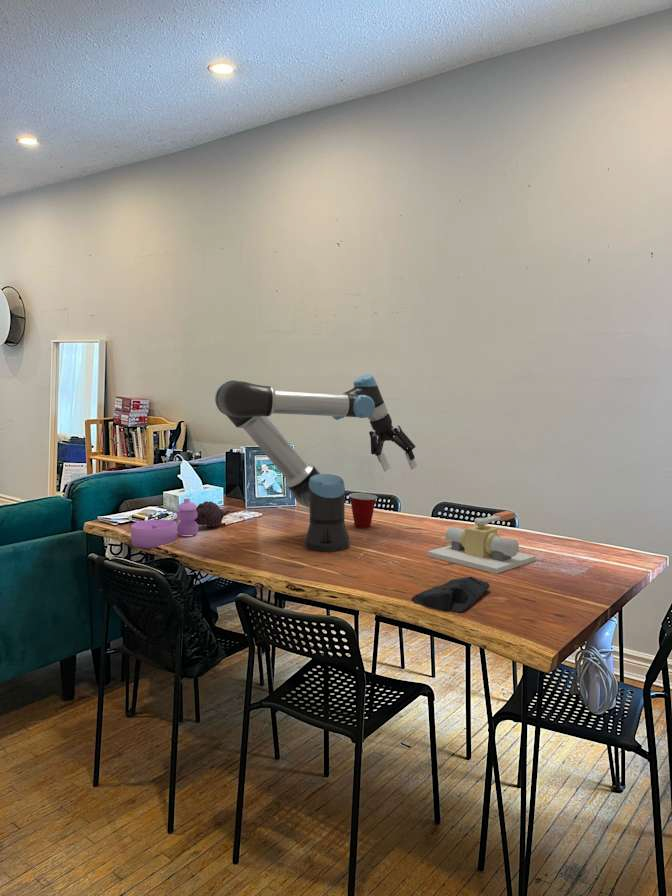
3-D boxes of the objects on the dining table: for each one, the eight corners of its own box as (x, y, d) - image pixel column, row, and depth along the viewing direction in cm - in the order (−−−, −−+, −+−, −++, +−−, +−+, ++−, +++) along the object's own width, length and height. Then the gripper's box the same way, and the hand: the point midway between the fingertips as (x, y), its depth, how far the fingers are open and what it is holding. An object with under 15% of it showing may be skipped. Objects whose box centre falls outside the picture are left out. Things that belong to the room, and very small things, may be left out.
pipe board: (496, 573, 200) (496, 536, 199) (427, 556, 219) (427, 522, 218) (535, 560, 213) (536, 526, 212) (467, 545, 233) (467, 513, 231)
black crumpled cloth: (499, 593, 184) (500, 576, 184) (459, 617, 167) (460, 597, 166) (448, 582, 194) (448, 566, 193) (405, 604, 176) (405, 585, 176)
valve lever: (482, 526, 212) (482, 520, 212) (471, 524, 215) (472, 518, 215) (515, 518, 224) (516, 512, 224) (505, 516, 227) (505, 510, 227)
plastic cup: (378, 529, 256) (378, 497, 255) (348, 529, 256) (348, 497, 255) (377, 523, 267) (377, 492, 265) (348, 523, 267) (348, 492, 266)
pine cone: (196, 534, 251) (195, 506, 250) (180, 529, 258) (179, 503, 257) (235, 525, 264) (234, 499, 263) (219, 522, 271) (218, 496, 270)
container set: (146, 550, 229) (145, 511, 228) (123, 542, 240) (121, 505, 238) (209, 537, 247) (208, 500, 246) (184, 530, 258) (183, 495, 256)
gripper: (410, 408, 243) (432, 461, 248) (361, 415, 261) (382, 465, 267) (397, 417, 238) (420, 471, 243) (348, 424, 257) (370, 475, 262)
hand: (400, 468), depth 255 cm, fingers open, 13 cm apart
